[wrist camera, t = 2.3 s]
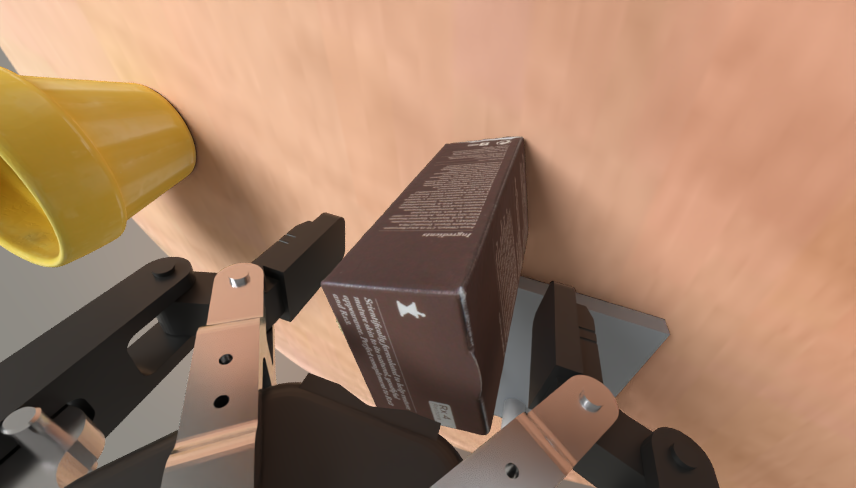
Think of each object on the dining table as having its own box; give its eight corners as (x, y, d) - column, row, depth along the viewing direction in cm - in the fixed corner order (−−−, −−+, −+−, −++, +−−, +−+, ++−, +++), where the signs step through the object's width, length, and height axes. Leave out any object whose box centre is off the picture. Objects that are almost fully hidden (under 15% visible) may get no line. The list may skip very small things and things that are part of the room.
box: (439, 143, 18) (310, 280, 9) (525, 134, 17) (480, 290, 7) (455, 238, 21) (372, 416, 12) (529, 238, 20) (502, 444, 10)
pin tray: (664, 319, 20) (699, 418, 15) (573, 430, 28) (576, 517, 23) (482, 264, 22) (461, 336, 17) (447, 383, 30) (426, 455, 25)
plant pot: (71, 87, 25) (-152, 120, 17) (137, 18, 20) (-131, 19, 12) (170, 210, 29) (29, 280, 21) (244, 177, 24) (97, 253, 16)
